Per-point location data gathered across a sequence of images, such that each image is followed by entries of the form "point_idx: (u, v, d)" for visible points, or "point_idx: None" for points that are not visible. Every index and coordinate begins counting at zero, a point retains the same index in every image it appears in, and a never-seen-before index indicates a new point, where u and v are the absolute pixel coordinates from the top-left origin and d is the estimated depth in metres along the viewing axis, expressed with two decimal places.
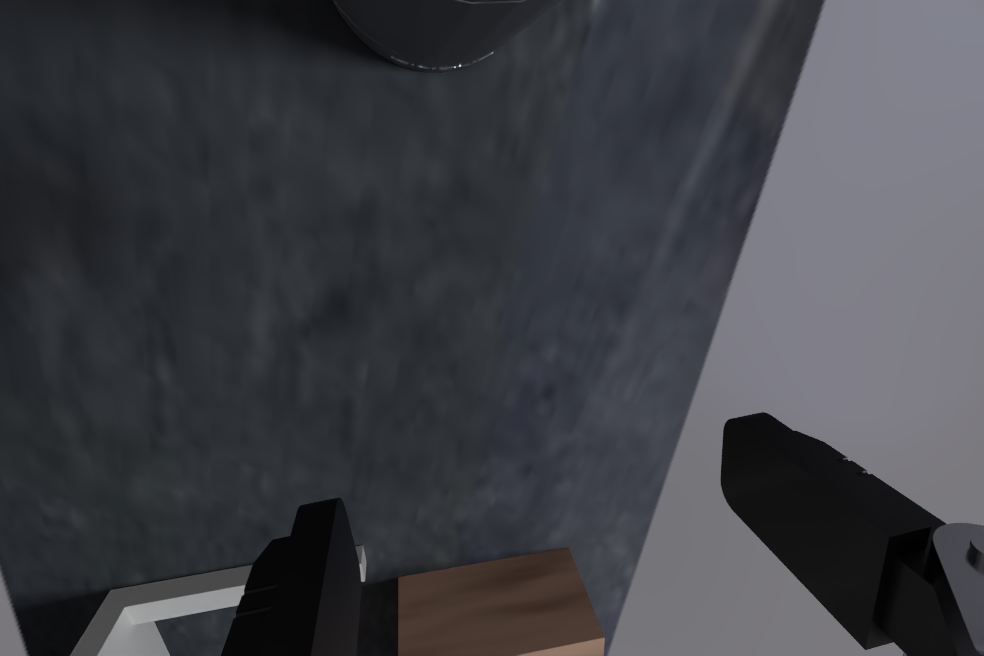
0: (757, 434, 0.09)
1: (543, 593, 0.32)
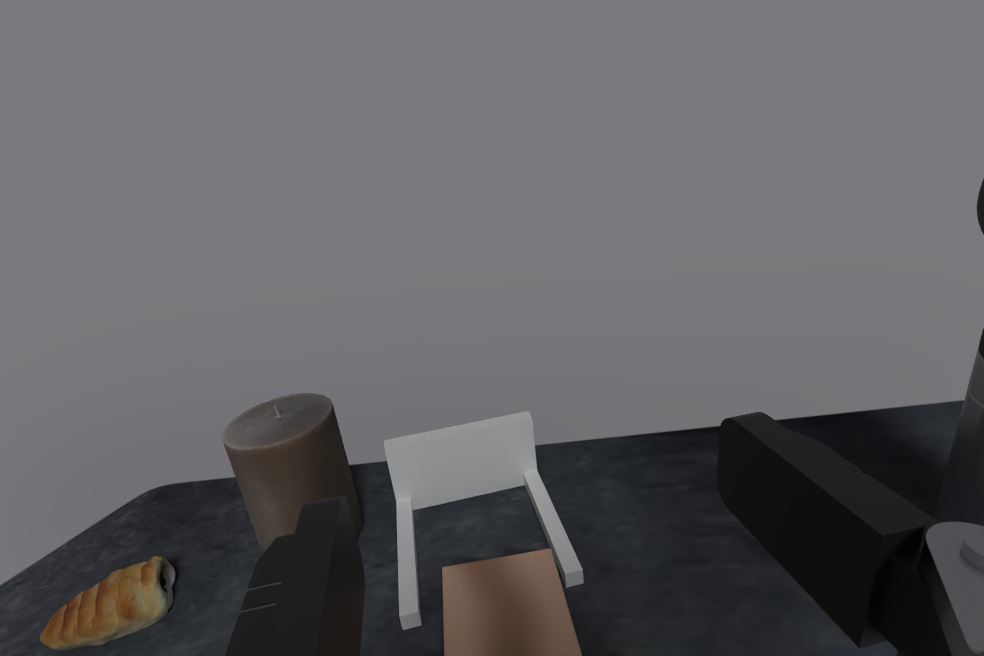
0: (753, 433, 0.09)
1: None
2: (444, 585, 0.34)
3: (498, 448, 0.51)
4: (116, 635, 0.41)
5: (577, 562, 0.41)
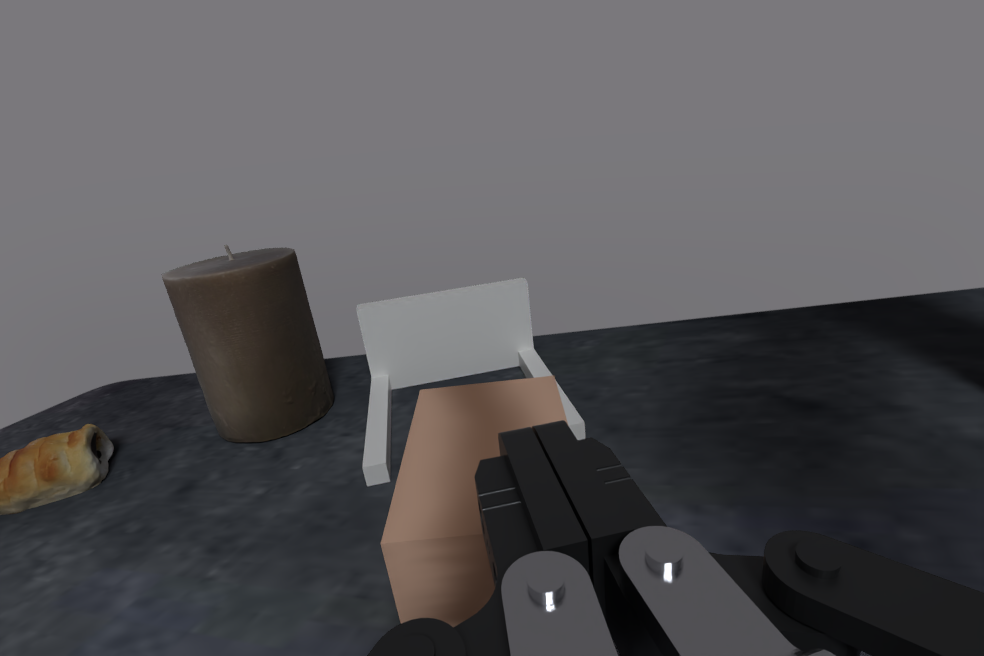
0: (542, 441, 0.10)
1: None
2: (418, 403, 0.28)
3: (489, 317, 0.45)
4: (35, 501, 0.35)
5: (578, 416, 0.35)
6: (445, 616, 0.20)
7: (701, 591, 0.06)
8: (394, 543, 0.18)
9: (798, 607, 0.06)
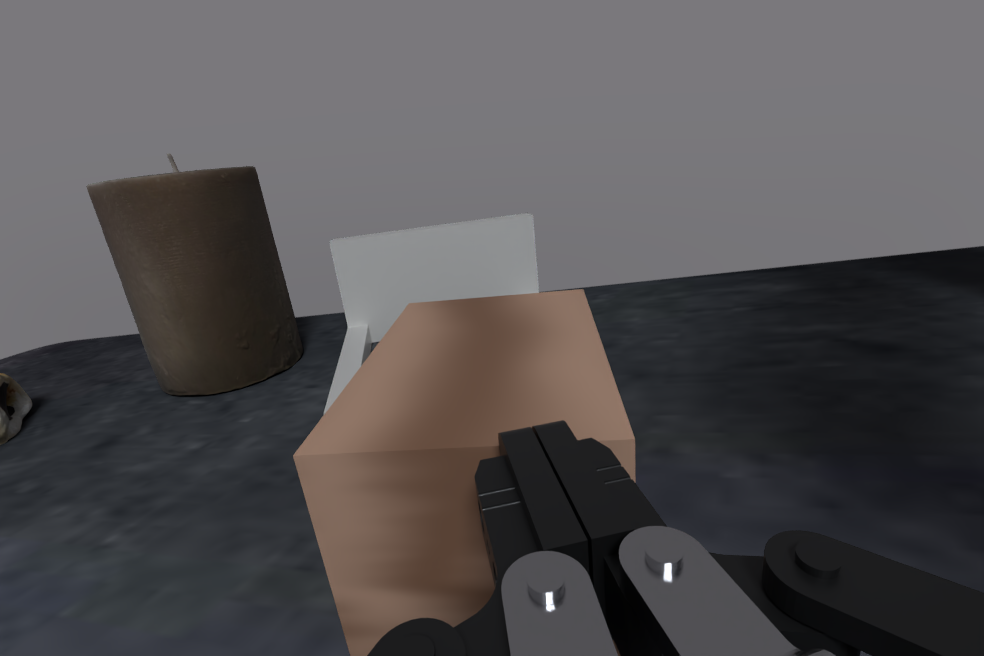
0: (542, 441, 0.10)
1: None
2: (403, 314, 0.22)
3: (487, 258, 0.38)
4: None
5: None
6: (396, 580, 0.13)
7: (701, 591, 0.06)
8: (313, 456, 0.12)
9: (798, 607, 0.06)
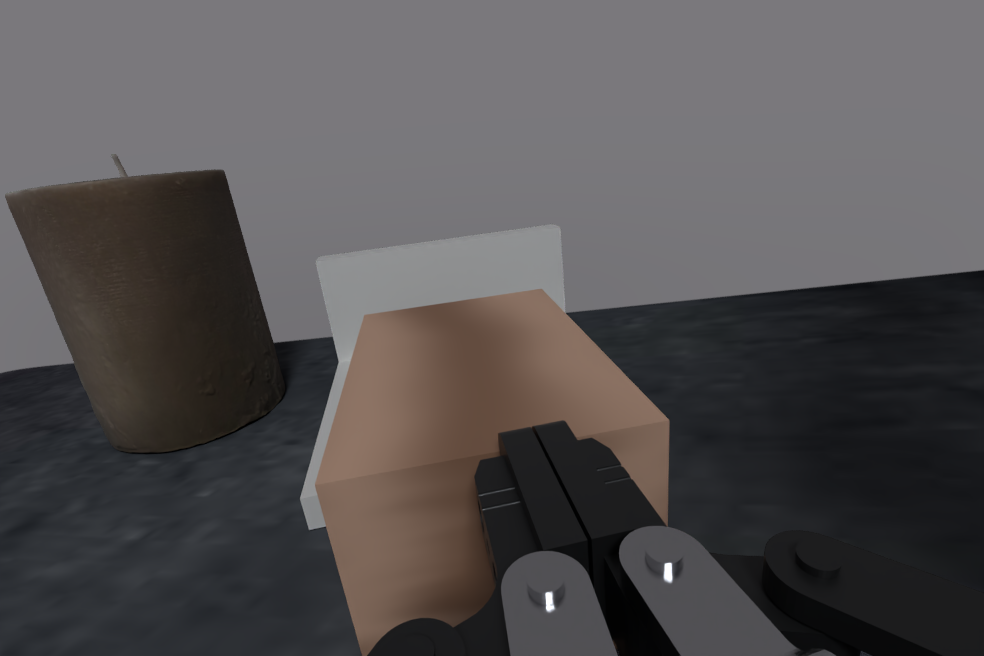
0: (542, 441, 0.10)
1: None
2: (363, 326, 0.20)
3: (505, 278, 0.32)
4: None
5: None
6: (428, 605, 0.12)
7: (701, 591, 0.06)
8: (339, 481, 0.11)
9: (798, 607, 0.06)
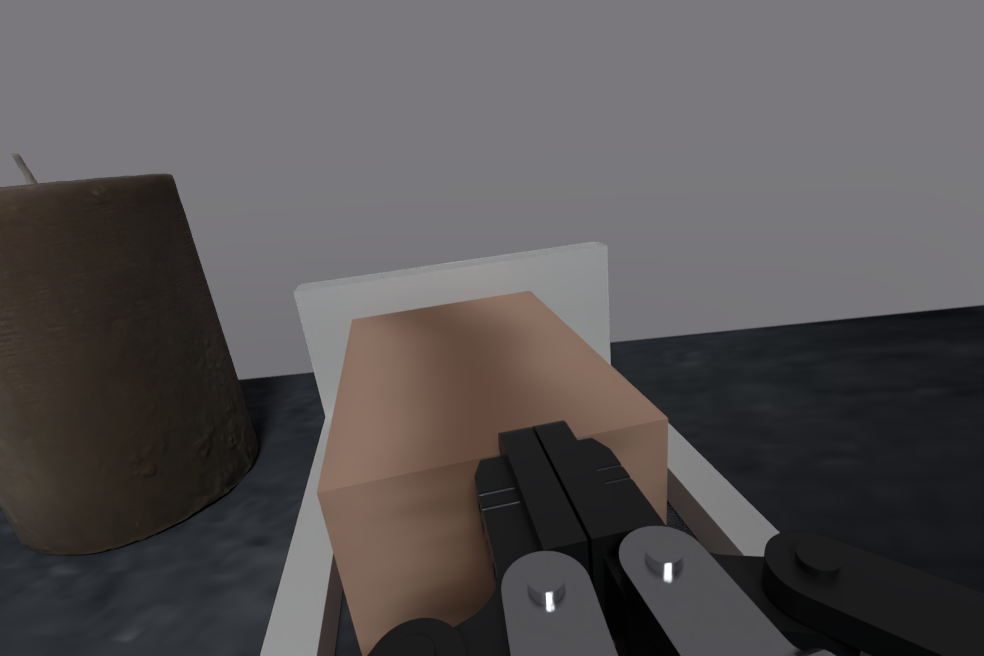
0: (542, 441, 0.10)
1: None
2: (352, 330, 0.20)
3: None
4: None
5: (773, 532, 0.15)
6: (432, 610, 0.12)
7: (701, 591, 0.06)
8: (342, 488, 0.11)
9: (798, 607, 0.06)
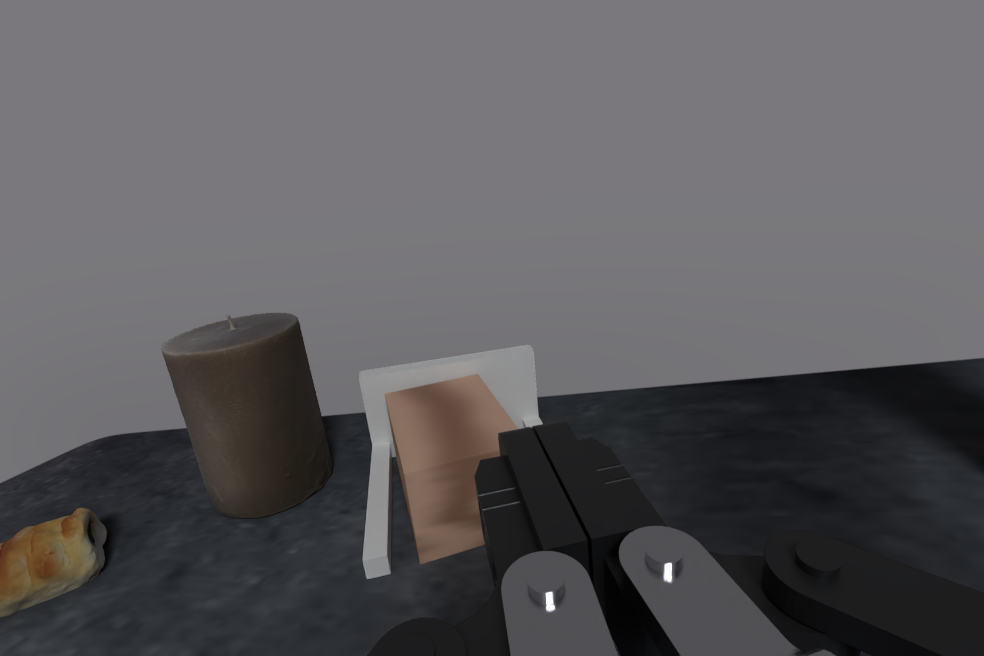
0: (542, 441, 0.10)
1: None
2: (388, 401, 0.39)
3: (494, 386, 0.44)
4: (27, 602, 0.32)
5: None
6: (442, 519, 0.32)
7: (701, 591, 0.06)
8: (412, 472, 0.30)
9: (798, 607, 0.06)
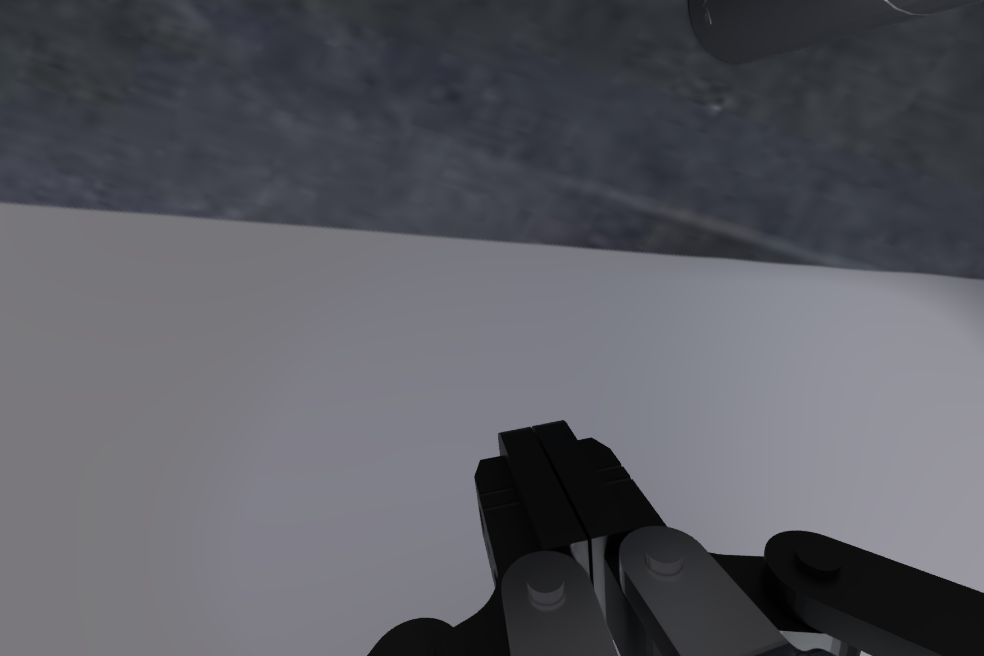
0: (542, 441, 0.10)
1: None
2: None
3: None
4: None
5: None
6: None
7: (701, 591, 0.06)
8: None
9: (798, 607, 0.06)
